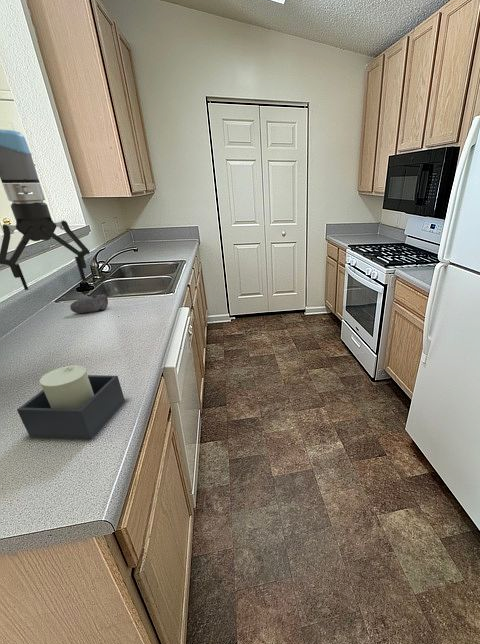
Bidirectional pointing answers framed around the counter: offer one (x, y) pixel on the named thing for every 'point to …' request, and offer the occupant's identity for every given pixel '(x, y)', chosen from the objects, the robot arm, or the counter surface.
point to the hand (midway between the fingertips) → (56, 284)
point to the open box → (73, 412)
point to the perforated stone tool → (90, 304)
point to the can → (67, 387)
